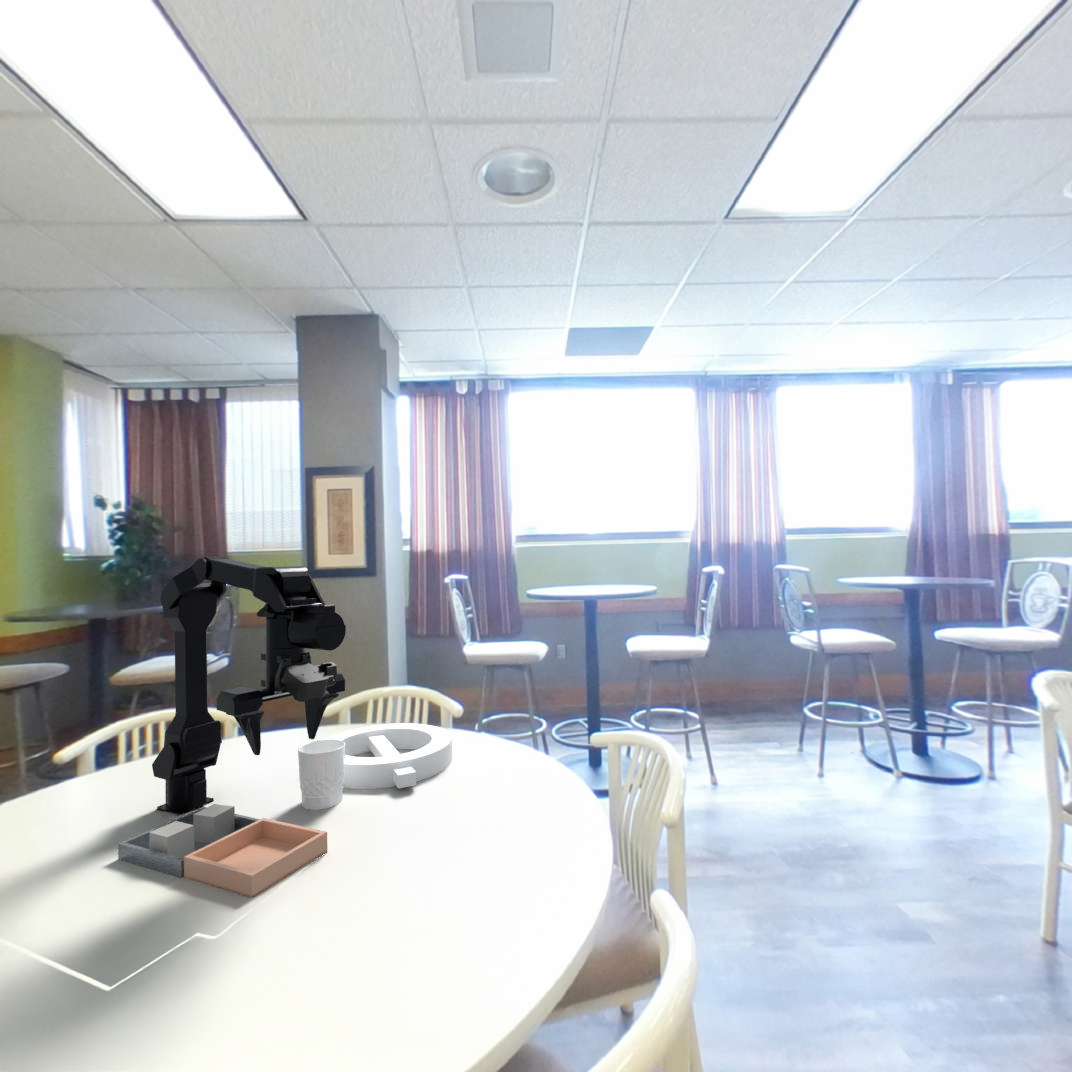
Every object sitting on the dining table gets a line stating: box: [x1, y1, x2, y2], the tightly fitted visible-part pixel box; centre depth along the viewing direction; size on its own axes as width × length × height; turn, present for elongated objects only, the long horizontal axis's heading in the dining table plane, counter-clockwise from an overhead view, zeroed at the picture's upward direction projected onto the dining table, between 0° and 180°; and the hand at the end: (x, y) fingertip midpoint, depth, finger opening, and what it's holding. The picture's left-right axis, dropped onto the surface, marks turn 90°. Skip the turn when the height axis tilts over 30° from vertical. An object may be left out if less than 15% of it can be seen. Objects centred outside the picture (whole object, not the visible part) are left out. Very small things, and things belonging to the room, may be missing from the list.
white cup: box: [297, 739, 345, 811], centre depth 106 cm, size 8×8×10 cm
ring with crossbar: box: [323, 722, 453, 790], centre depth 126 cm, size 28×28×5 cm
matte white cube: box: [149, 821, 194, 858], centre depth 87 cm, size 4×4×4 cm
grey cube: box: [193, 803, 236, 843], centre depth 93 cm, size 4×4×4 cm
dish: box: [183, 817, 328, 899], centre depth 84 cm, size 13×13×3 cm
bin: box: [117, 806, 261, 879], centre depth 90 cm, size 14×14×2 cm
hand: (285, 746), depth 93 cm, fingers open, 9 cm apart
